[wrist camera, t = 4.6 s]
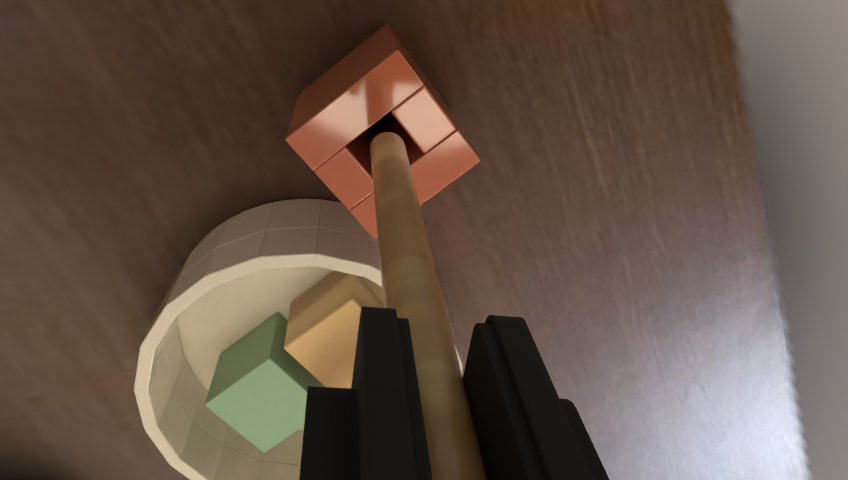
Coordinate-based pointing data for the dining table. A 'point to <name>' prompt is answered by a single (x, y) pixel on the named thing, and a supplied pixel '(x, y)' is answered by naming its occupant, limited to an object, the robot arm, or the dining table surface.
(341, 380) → the maple block
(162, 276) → the dining table surface
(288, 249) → the stir bowl
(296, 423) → the sage block
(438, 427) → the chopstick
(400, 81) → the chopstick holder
